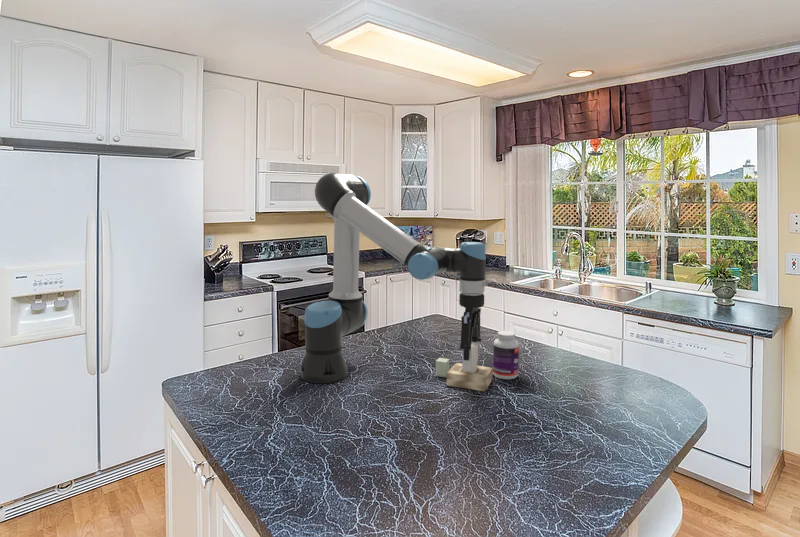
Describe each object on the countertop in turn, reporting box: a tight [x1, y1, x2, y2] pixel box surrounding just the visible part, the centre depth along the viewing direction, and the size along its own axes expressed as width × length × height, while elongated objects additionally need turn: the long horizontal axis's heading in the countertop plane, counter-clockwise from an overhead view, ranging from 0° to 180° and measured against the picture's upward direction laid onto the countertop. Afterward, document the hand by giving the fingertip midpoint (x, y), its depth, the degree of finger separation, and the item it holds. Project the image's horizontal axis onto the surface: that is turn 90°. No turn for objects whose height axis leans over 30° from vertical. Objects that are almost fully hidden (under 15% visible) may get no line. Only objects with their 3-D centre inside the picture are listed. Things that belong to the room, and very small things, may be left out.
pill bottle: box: [492, 330, 520, 380], centre depth 155 cm, size 8×8×14 cm
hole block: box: [446, 362, 494, 392], centre depth 150 cm, size 12×10×4 cm
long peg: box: [463, 344, 479, 374], centre depth 150 cm, size 4×4×12 cm
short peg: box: [435, 357, 450, 378], centre depth 157 cm, size 4×4×5 cm
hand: (470, 365), depth 150 cm, fingers open, 7 cm apart
